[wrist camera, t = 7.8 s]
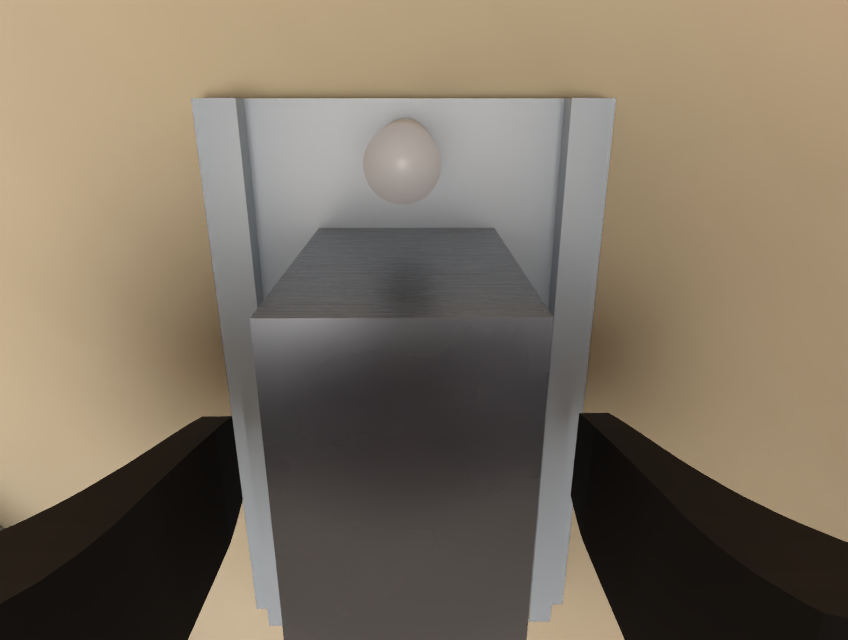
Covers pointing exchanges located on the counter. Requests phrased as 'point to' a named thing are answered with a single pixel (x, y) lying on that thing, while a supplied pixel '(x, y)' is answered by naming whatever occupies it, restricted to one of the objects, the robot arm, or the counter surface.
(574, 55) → the counter surface
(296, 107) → the tray
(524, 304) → the block
